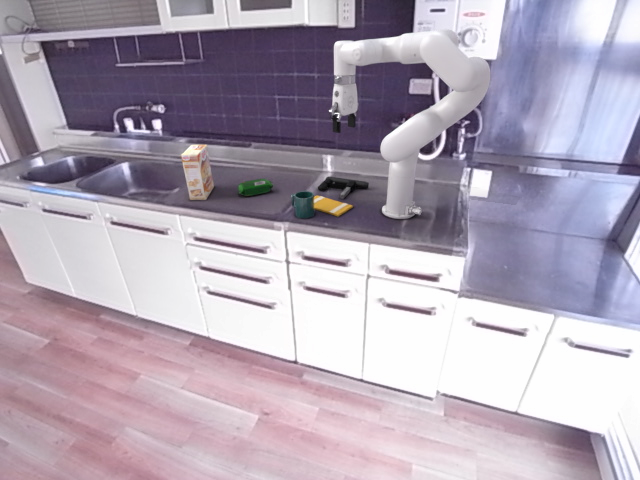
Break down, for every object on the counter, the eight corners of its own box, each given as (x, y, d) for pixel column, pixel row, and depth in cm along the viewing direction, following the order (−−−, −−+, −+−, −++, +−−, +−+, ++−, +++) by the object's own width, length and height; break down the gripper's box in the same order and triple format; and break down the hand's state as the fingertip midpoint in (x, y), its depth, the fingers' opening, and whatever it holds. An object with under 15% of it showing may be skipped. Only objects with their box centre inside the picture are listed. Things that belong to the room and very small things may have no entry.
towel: (352, 207, 147) (352, 205, 147) (338, 216, 141) (338, 214, 140) (317, 196, 157) (316, 194, 157) (301, 205, 150) (301, 203, 150)
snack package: (276, 192, 162) (275, 181, 160) (240, 198, 157) (238, 187, 155) (271, 187, 168) (270, 176, 165) (236, 192, 163) (235, 181, 160)
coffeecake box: (206, 200, 157) (197, 154, 147) (189, 200, 157) (179, 154, 147) (214, 186, 170) (207, 143, 160) (199, 187, 170) (190, 144, 160)
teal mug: (318, 213, 144) (317, 193, 140) (306, 220, 139) (305, 200, 135) (298, 206, 149) (297, 188, 145) (286, 213, 144) (284, 194, 140)
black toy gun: (357, 195, 151) (369, 179, 163) (312, 188, 159) (328, 174, 171) (357, 202, 153) (369, 186, 165) (313, 195, 160) (328, 180, 173)
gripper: (339, 84, 124) (339, 136, 132) (366, 78, 136) (365, 126, 144) (321, 82, 128) (322, 133, 136) (349, 76, 140) (349, 123, 148)
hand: (344, 129), depth 140 cm, fingers open, 9 cm apart
